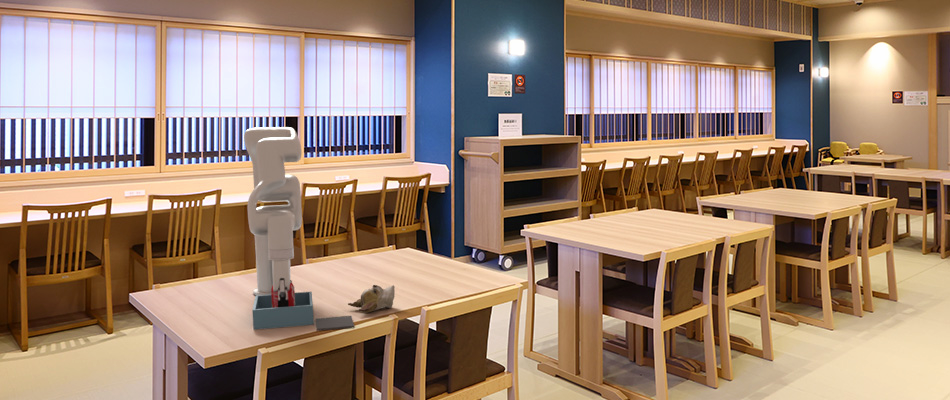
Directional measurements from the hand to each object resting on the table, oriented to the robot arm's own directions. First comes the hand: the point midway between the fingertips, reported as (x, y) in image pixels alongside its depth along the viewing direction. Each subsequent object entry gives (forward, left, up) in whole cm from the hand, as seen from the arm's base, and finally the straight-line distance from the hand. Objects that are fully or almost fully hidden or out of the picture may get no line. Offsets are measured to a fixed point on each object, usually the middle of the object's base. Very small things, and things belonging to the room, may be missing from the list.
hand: (283, 308), depth 216 cm
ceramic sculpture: (-2, +28, -4) cm, 29 cm away
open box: (0, 0, -3) cm, 3 cm away
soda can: (0, 0, -3) cm, 3 cm away
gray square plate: (+10, +15, -3) cm, 18 cm away
